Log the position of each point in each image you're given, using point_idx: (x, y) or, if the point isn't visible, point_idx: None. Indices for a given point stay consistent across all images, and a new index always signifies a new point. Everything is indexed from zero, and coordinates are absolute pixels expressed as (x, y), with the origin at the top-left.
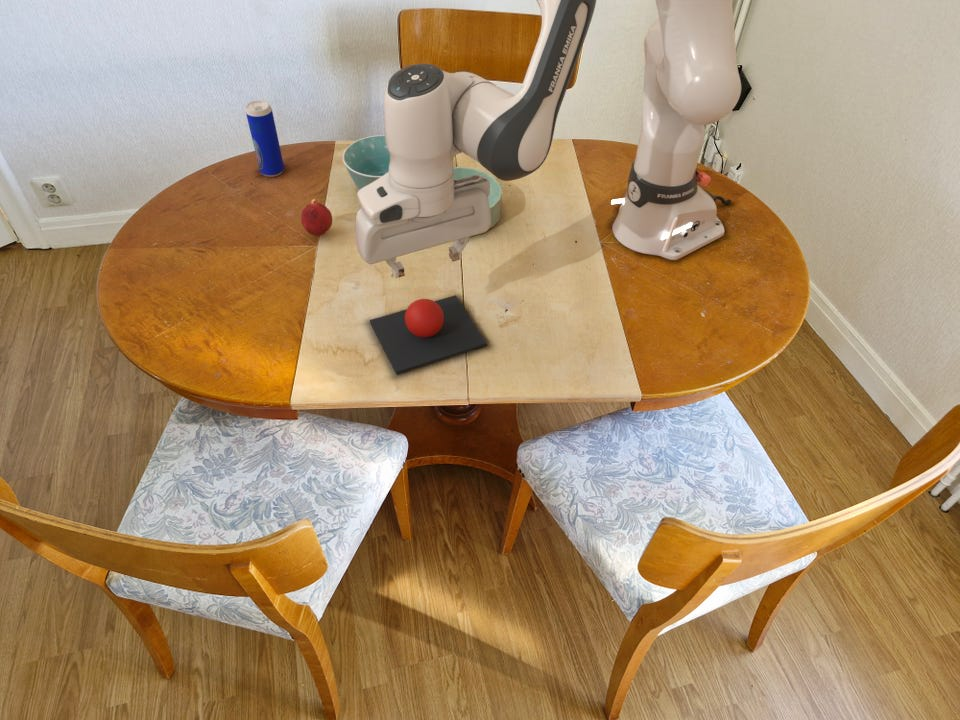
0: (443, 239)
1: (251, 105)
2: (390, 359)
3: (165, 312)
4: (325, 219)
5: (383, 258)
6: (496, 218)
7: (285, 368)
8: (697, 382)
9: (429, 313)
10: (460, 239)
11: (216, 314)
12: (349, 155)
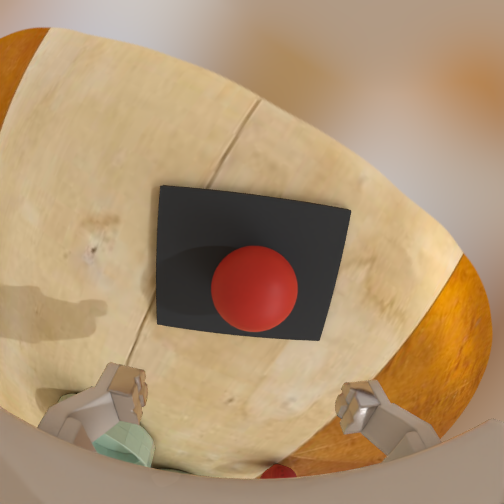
0: (165, 501)
1: None
2: (344, 243)
3: (447, 406)
4: None
5: (476, 439)
6: (62, 399)
7: (443, 303)
8: (9, 35)
9: (256, 279)
10: (75, 437)
11: (428, 398)
12: None
